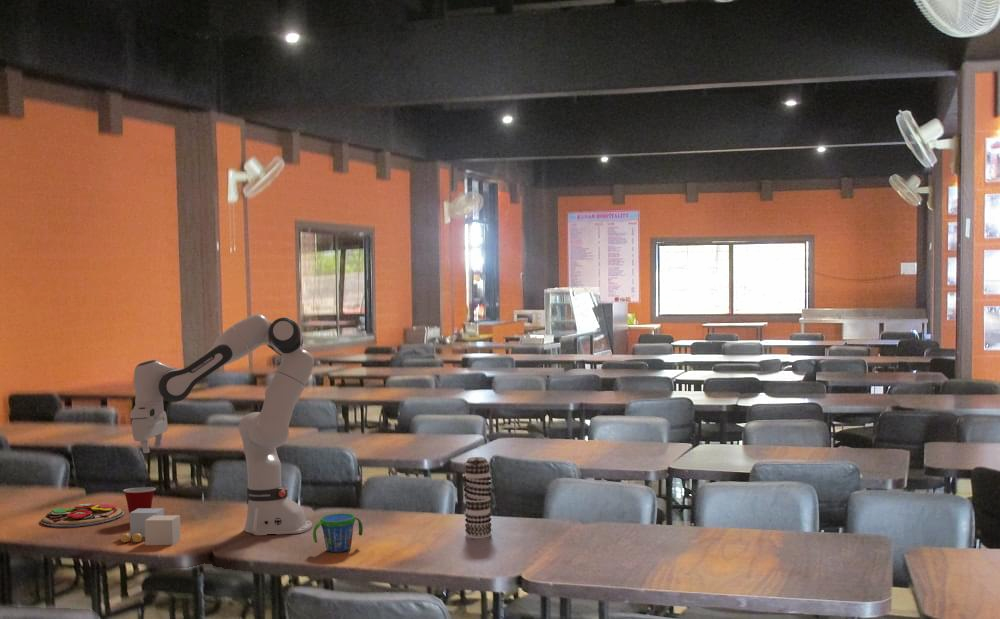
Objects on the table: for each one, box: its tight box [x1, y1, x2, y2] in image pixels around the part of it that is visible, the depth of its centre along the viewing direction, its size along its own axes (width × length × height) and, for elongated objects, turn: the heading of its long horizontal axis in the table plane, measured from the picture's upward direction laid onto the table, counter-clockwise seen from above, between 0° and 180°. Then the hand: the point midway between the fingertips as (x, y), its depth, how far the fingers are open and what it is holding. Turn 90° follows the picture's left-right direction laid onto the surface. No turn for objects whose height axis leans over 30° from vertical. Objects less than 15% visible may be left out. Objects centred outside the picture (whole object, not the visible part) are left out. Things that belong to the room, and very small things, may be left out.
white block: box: [129, 507, 165, 538], centre depth 326 cm, size 9×6×8 cm
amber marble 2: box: [131, 533, 143, 543], centre depth 316 cm, size 3×3×3 cm
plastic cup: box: [122, 486, 157, 515], centre depth 344 cm, size 11×11×12 cm
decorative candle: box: [462, 456, 493, 539], centre depth 317 cm, size 9×9×25 cm
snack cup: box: [312, 512, 364, 553], centre depth 303 cm, size 16×10×10 cm
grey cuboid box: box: [144, 514, 182, 546], centre depth 316 cm, size 9×6×8 cm
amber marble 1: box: [120, 532, 132, 544], centre depth 317 cm, size 3×3×3 cm
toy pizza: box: [40, 503, 125, 528], centre depth 352 cm, size 28×28×4 cm
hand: (152, 449), depth 329 cm, fingers open, 8 cm apart
